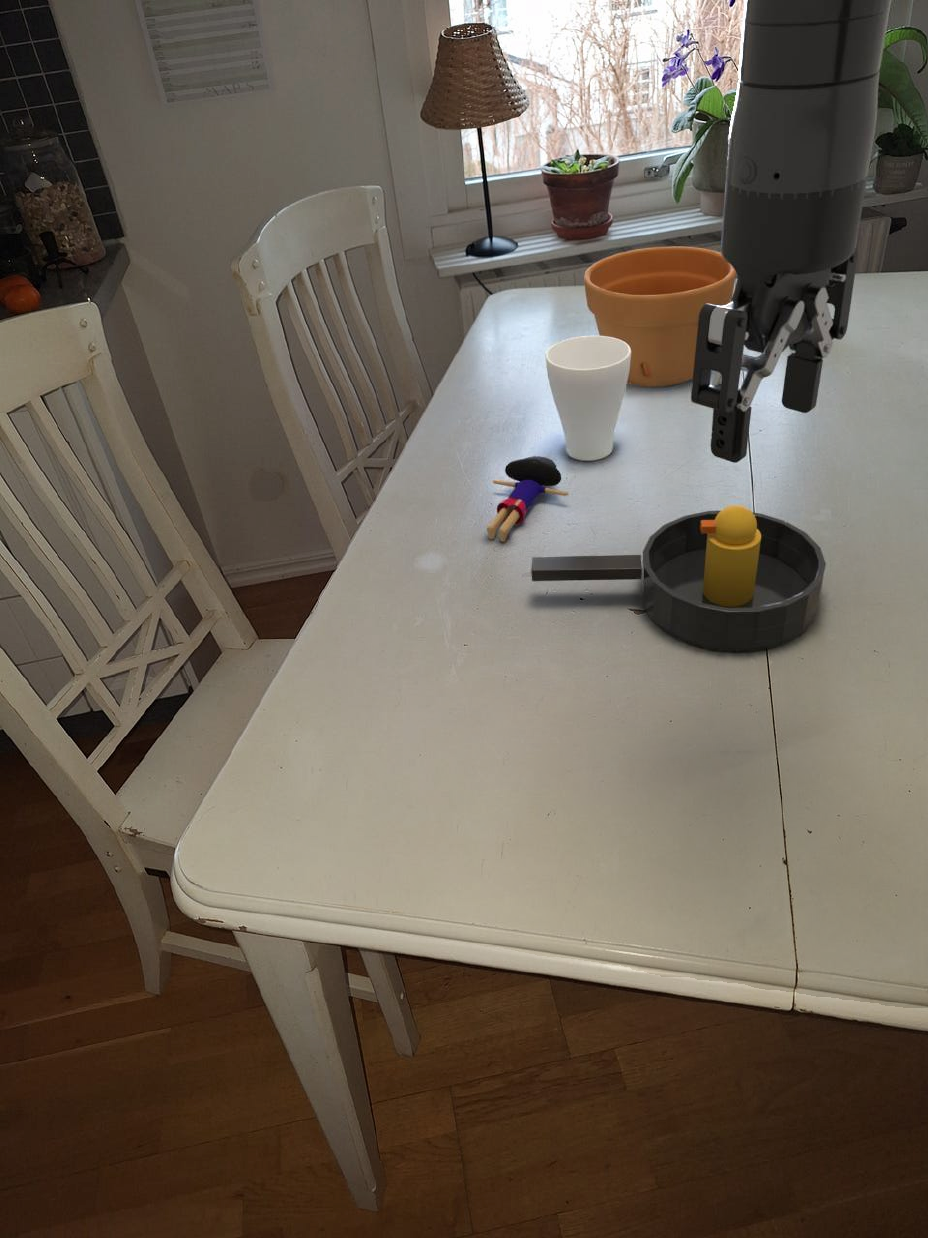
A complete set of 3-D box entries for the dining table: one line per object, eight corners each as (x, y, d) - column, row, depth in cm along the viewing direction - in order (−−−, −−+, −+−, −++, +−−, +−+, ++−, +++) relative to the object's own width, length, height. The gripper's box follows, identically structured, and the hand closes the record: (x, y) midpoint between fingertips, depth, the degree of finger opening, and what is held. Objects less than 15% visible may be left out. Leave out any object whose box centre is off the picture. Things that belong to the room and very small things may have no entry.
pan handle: (640, 565, 91) (640, 554, 90) (641, 579, 89) (641, 568, 88) (533, 567, 92) (532, 556, 91) (531, 581, 91) (531, 570, 90)
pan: (800, 547, 96) (806, 507, 93) (833, 652, 83) (842, 610, 80) (638, 550, 98) (639, 512, 95) (646, 653, 85) (647, 612, 82)
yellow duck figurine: (750, 576, 92) (760, 493, 86) (757, 606, 88) (768, 522, 82) (693, 577, 93) (699, 495, 86) (698, 607, 89) (704, 523, 83)
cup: (536, 443, 120) (531, 347, 112) (606, 424, 122) (606, 328, 114) (571, 477, 112) (567, 377, 104) (644, 456, 114) (647, 356, 106)
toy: (536, 553, 101) (584, 483, 110) (533, 520, 98) (583, 451, 107) (458, 537, 105) (511, 471, 115) (453, 505, 102) (508, 440, 112)
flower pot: (571, 394, 131) (568, 293, 121) (601, 338, 146) (600, 245, 136) (719, 401, 124) (728, 295, 115) (734, 342, 139) (743, 244, 130)
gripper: (788, 211, 44) (754, 494, 54) (922, 144, 51) (870, 406, 61) (663, 194, 48) (653, 458, 58) (802, 135, 55) (772, 381, 65)
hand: (764, 432), depth 60 cm, fingers open, 8 cm apart
